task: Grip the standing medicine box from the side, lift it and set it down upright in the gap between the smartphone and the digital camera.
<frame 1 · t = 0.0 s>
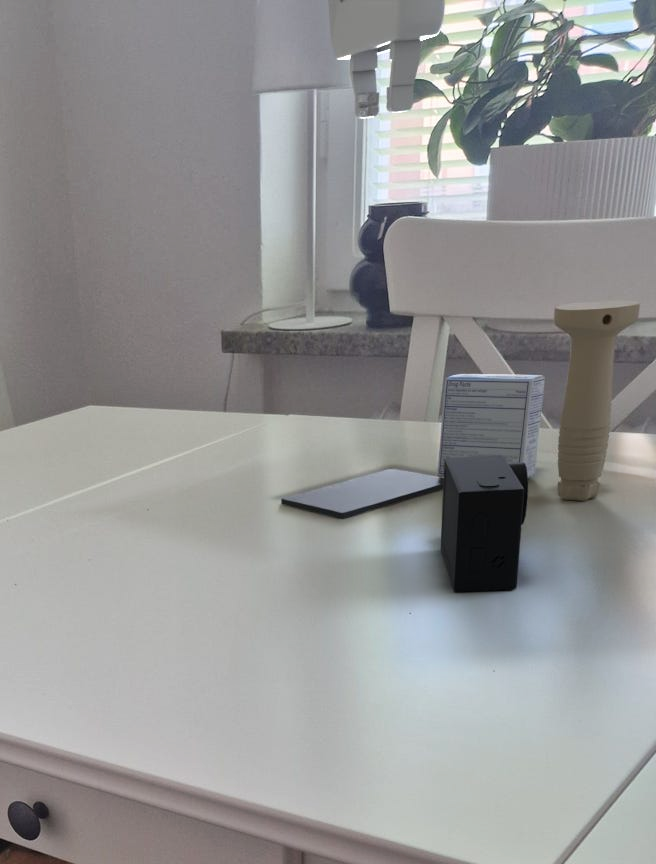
hand: (382, 115, 98), 29 cm above the table, tool pointing down, fingers open, 8 cm apart
smartphone: (368, 494, 105), on the table
medicine box: (485, 479, 106), on the table, touching smartphone
handle: (577, 499, 99), on the table
digital camera: (484, 571, 85), on the table
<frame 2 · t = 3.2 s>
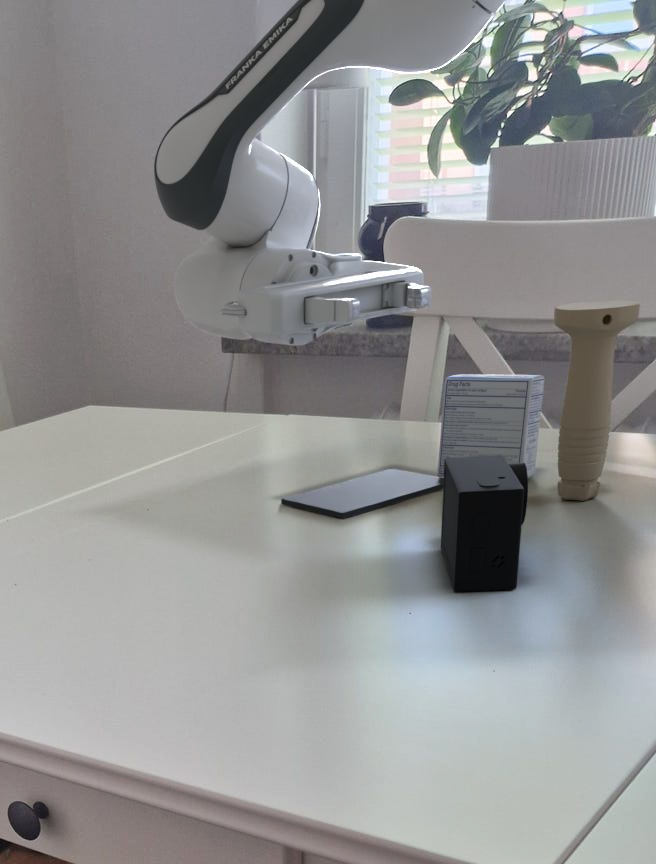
hand: (391, 304, 108), 14 cm above the table, tool horizontal, fingers open, 8 cm apart
nothing on the table moved.
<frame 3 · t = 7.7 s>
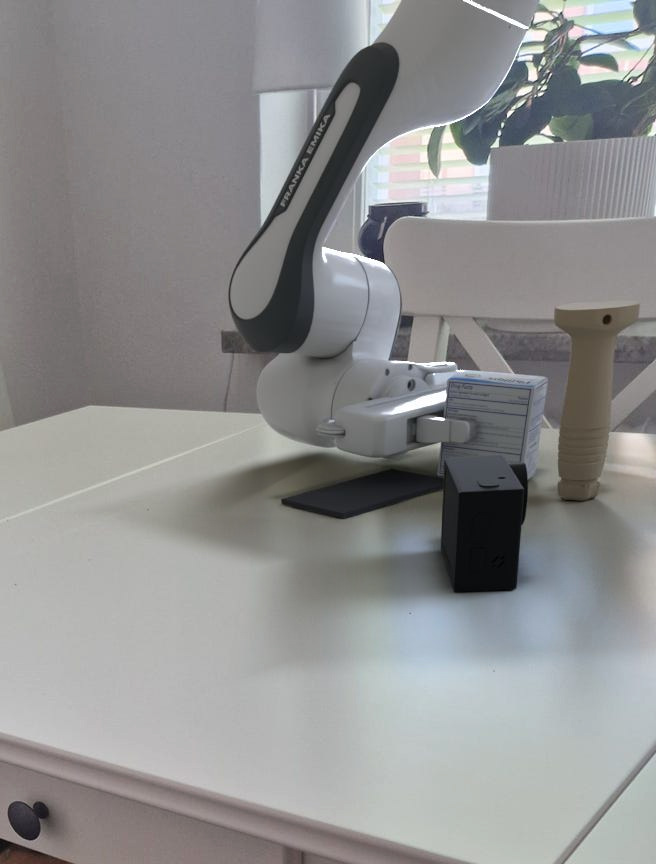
hand: (498, 424, 103), 5 cm above the table, tool horizontal, fingers closed on medicine box, 5 cm apart
medicine box: (485, 479, 106), on the table, touching smartphone, gripper
everything else where it was.
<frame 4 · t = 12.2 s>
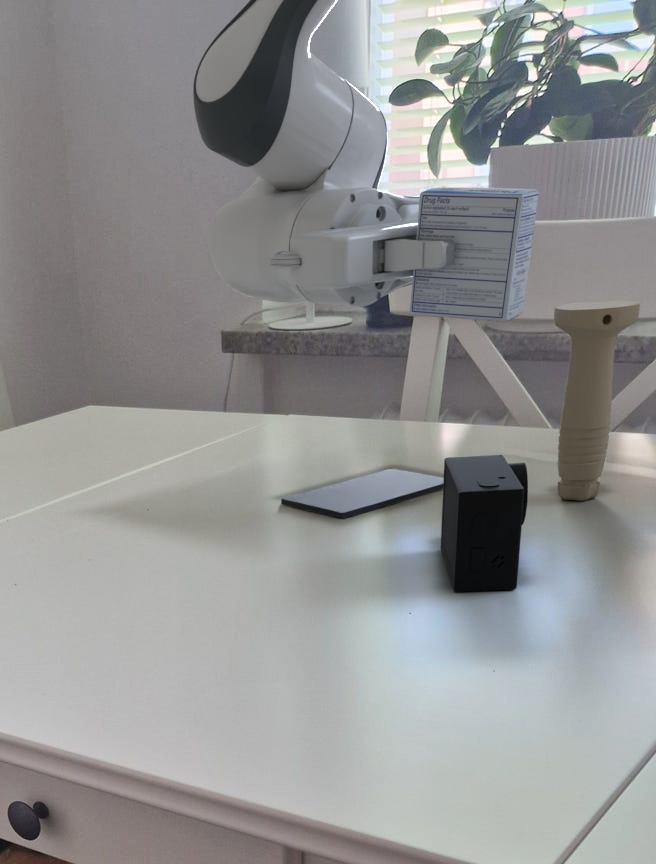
hand: (480, 249, 88), 20 cm above the table, tool horizontal, fingers closed on medicine box, 5 cm apart
medicine box: (465, 319, 91), point 15 cm above the table, touching gripper
everything else where it was.
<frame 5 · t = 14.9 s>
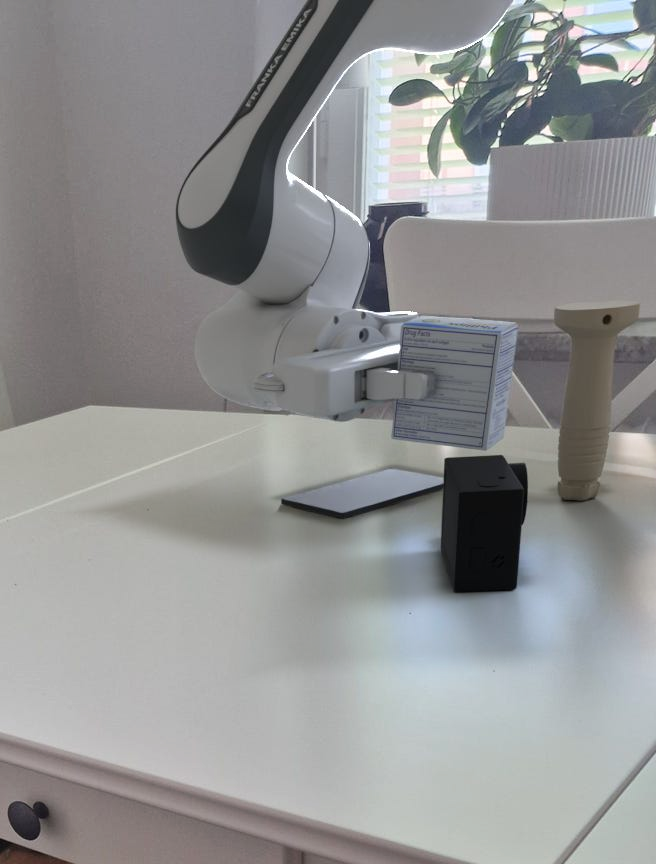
hand: (460, 378, 89), 11 cm above the table, tool horizontal, fingers closed on medicine box, 5 cm apart
medicine box: (446, 443, 92), point 6 cm above the table, touching gripper
everything else where it was.
when the fingers open (5 cm above the table, at t = 17.1 s): medicine box stays where it is, on the table.
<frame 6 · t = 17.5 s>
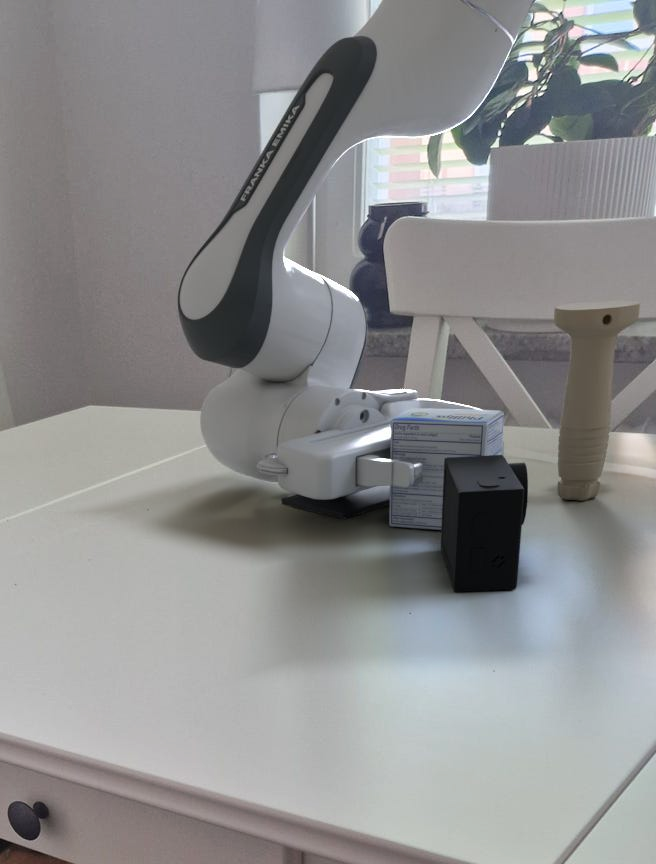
hand: (458, 463, 92), 5 cm above the table, tool horizontal, fingers open, 8 cm apart
medicine box: (443, 527, 95), on the table
everything else where it was.
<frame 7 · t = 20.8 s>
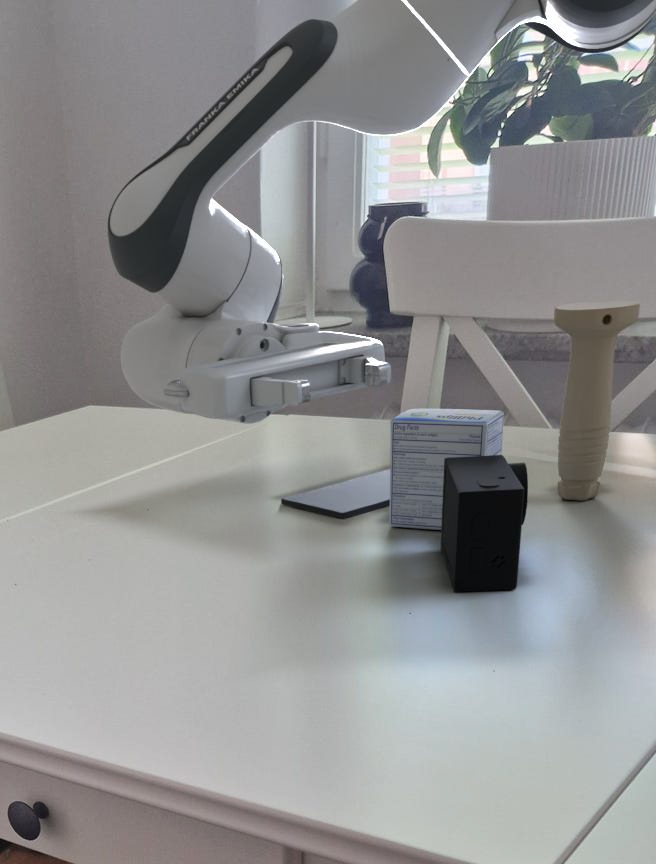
hand: (345, 384, 99), 10 cm above the table, tool horizontal, fingers open, 8 cm apart
nothing on the table moved.
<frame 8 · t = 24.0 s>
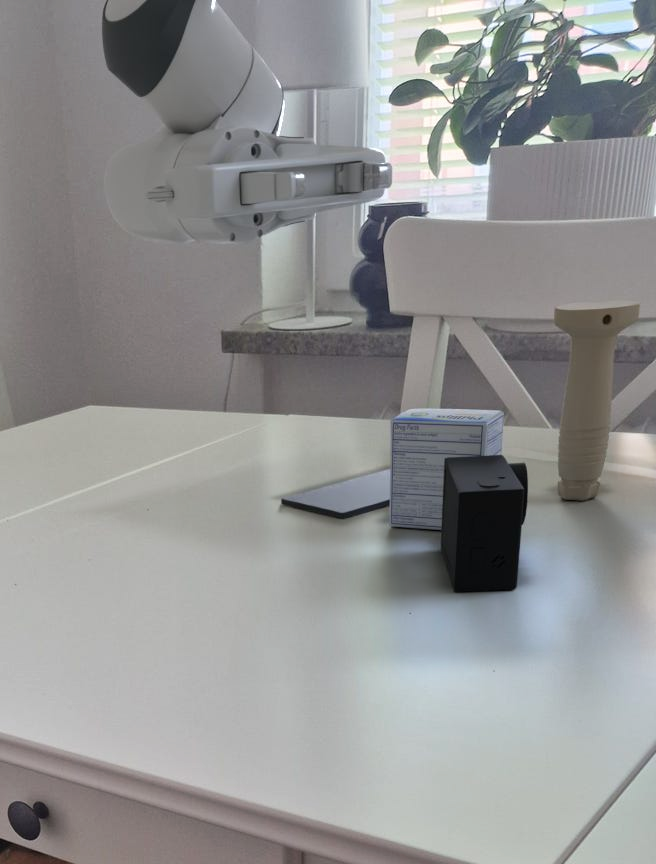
hand: (343, 180, 91), 25 cm above the table, tool horizontal, fingers open, 8 cm apart
nothing on the table moved.
at the end: medicine box inside the target area on the table beside the smartphone (0.3 cm from its centre), on the table; medicine box inside the target area on the table beside the digital camera (0.3 cm from its centre), on the table; medicine box tilted 0° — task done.
